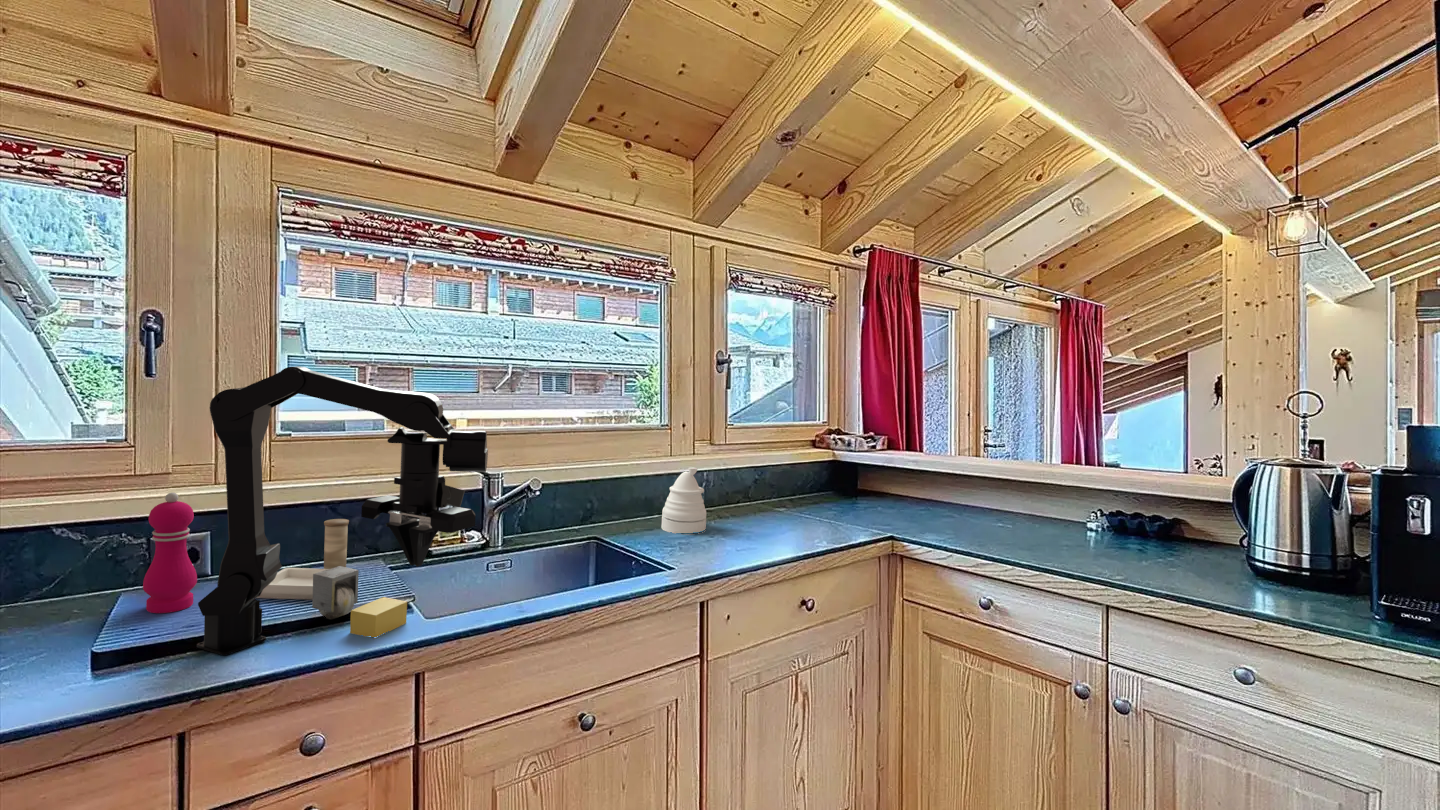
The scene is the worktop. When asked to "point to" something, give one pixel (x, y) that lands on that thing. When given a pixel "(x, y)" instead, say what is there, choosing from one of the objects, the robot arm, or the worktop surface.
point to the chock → (378, 617)
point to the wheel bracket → (335, 591)
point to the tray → (291, 584)
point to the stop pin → (335, 543)
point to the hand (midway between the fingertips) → (416, 565)
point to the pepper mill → (170, 558)
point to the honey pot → (684, 506)
